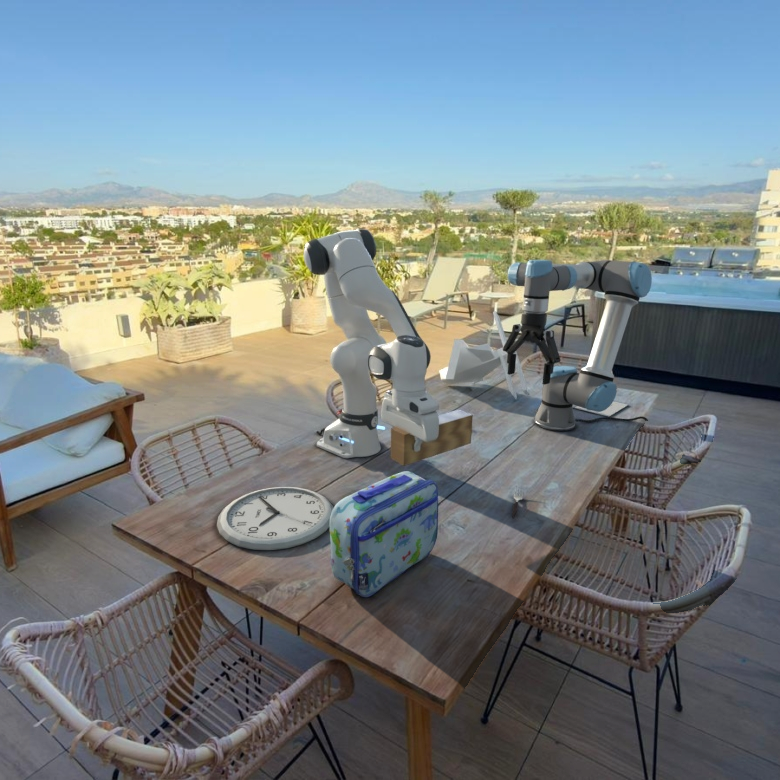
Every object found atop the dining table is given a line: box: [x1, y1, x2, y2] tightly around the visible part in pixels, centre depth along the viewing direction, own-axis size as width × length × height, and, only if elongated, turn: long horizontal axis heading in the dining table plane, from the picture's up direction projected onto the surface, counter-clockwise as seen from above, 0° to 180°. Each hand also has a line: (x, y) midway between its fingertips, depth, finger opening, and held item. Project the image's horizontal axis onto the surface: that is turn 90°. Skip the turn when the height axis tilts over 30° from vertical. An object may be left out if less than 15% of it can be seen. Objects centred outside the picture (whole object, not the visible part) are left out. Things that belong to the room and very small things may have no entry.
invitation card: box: [573, 400, 629, 417], centre depth 226 cm, size 21×1×15 cm
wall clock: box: [216, 486, 334, 551], centre depth 136 cm, size 30×2×30 cm
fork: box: [511, 486, 525, 519], centre depth 144 cm, size 3×16×2 cm, turn 160°
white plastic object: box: [438, 310, 531, 400], centre depth 245 cm, size 37×45×31 cm
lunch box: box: [329, 470, 439, 598], centre depth 113 cm, size 26×11×21 cm, turn 134°
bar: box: [390, 409, 474, 467], centre depth 147 cm, size 26×6×9 cm, turn 128°
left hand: (407, 446), depth 142 cm, fingers closed on bar, 6 cm apart
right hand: (527, 378), depth 166 cm, fingers open, 13 cm apart
